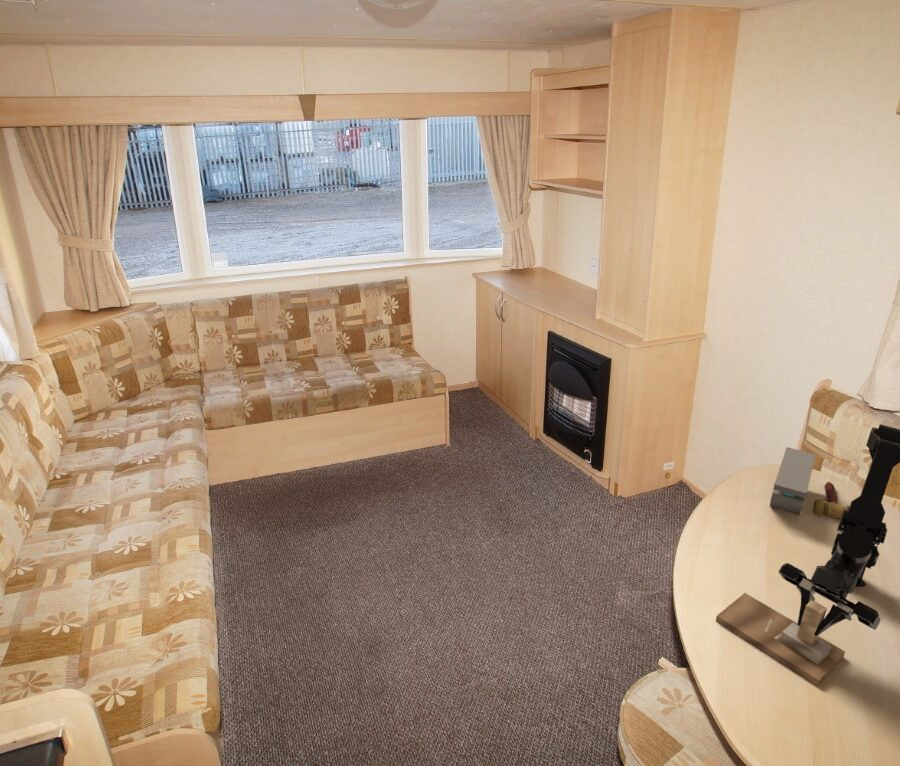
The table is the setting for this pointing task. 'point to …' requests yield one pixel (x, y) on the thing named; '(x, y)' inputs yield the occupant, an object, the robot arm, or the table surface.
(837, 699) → the table surface
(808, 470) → the grey rectangular box
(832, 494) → the gavel
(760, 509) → the table surface
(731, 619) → the walnut board
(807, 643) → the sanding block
